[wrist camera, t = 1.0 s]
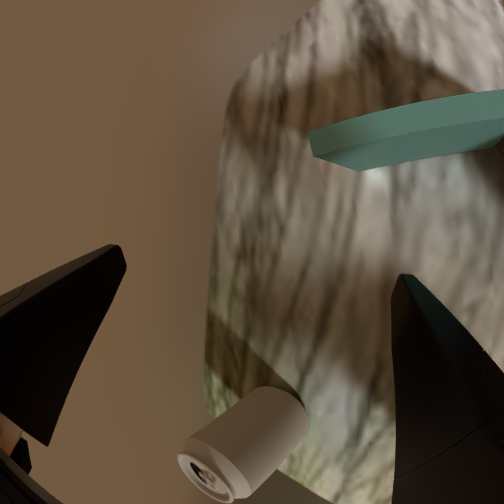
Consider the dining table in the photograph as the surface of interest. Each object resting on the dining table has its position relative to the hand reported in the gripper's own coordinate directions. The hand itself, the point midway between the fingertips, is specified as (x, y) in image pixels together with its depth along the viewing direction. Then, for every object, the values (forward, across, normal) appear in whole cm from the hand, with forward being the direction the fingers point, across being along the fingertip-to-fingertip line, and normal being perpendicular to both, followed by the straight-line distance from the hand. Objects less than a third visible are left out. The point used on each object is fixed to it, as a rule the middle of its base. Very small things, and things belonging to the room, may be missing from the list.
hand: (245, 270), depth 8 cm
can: (+6, -1, +23) cm, 24 cm away
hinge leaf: (+11, -10, -3) cm, 15 cm away
